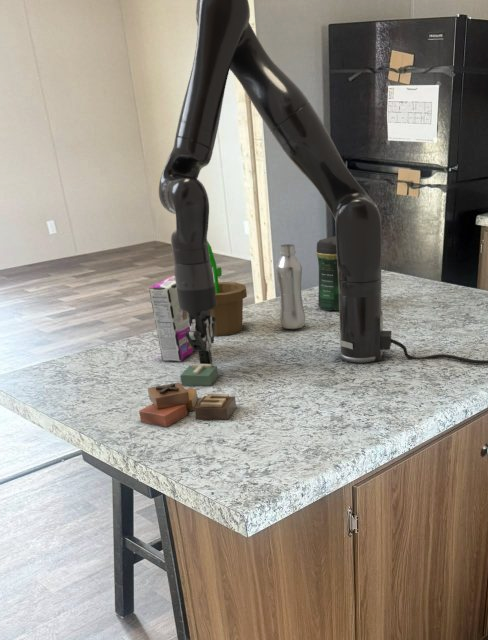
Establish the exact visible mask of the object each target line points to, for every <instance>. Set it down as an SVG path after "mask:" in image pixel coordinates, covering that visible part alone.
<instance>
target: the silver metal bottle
mask: <svg viewBox="0 0 488 640" xmlns="http://www.w3.org/2000/svg"><path fill="white" fill-rule="evenodd" d="M295 246H296V245H295V244H291V243H289V244H288V243H287V244H280V245H279V255H280V257H279V259H278V261H277V263H276V265H275V273H276V279H277V284H278V289H279V296H280V297H279V298H280V300H279V301H280V302H279V303H280V307H279V308H280V311H279V322H280V325H281V326H282V328H284V329H287V330H296V329H301V328H303V327H304V326H305V324H306V312H305V309H304V304H303V298H302V275H303V268H302V264H301V262H300V261H299V259H298V258H297V257H296V247H295Z"/></svg>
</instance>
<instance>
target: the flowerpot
mask: <svg viewBox="0 0 488 640" xmlns="http://www.w3.org/2000/svg"><path fill="white" fill-rule="evenodd" d="M207 242H208V249H209V257H210V263H211V267H212V271H213V278H214V286H215V294H216V302H217V305H216V307H215V308H214V309H211V310H210V313H211V315H210V316H215V318H216V321H215V332H214V336H217V337H218V336H229V335H233V334H238V333H239V332H241V331H243V321H244V319H243V315H244V313H243V310H244V309H243V307H244V304H243V303H244V299H246V298H247V297H248V295H247V287H246V285H245V284H243V283H240V282H239V283H238V282H232V281H231V282H230V281H219V278H220V277H221V276H222V274H223V273H222V267H217V262H216V258H215V256H214V252H213V249H212V246H211V244H210V243H209V241H208V240H207Z"/></svg>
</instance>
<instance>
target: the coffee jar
mask: <svg viewBox="0 0 488 640" xmlns="http://www.w3.org/2000/svg"><path fill="white" fill-rule="evenodd" d="M316 258H317V263H318V298H317V299H318V308H320V309H322V310H324V311H329V312H331V311H339V291H338V269H337V250H336V235H334V236H330V237H326V238H321V239H319V240H318V241H317V243H316Z"/></svg>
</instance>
